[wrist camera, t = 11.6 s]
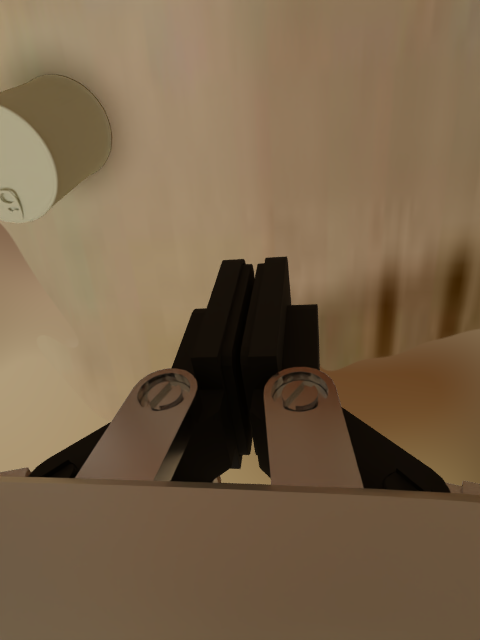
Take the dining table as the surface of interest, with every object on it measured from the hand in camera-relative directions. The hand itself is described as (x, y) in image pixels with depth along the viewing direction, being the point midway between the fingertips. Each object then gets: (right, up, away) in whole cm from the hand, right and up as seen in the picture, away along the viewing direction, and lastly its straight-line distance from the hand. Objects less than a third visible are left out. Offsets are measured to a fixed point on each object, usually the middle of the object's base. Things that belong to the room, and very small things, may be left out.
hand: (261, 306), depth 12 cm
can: (-17, +18, +31) cm, 40 cm away
